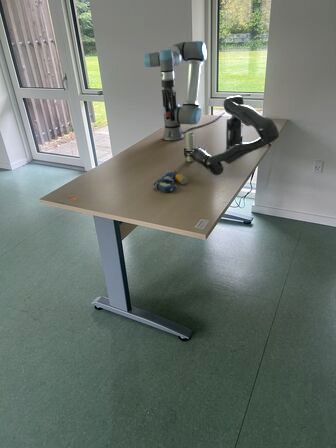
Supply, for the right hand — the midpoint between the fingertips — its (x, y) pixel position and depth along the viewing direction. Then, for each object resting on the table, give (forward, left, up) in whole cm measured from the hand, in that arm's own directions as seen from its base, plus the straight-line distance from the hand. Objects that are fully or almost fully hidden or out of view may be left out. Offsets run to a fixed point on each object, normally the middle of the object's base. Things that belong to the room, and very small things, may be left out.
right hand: (188, 148), depth 205 cm
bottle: (0, +3, -7) cm, 7 cm away
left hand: (+5, -14, +16) cm, 21 cm away
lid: (+5, -14, +20) cm, 25 cm away
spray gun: (+24, +30, -7) cm, 39 cm away
